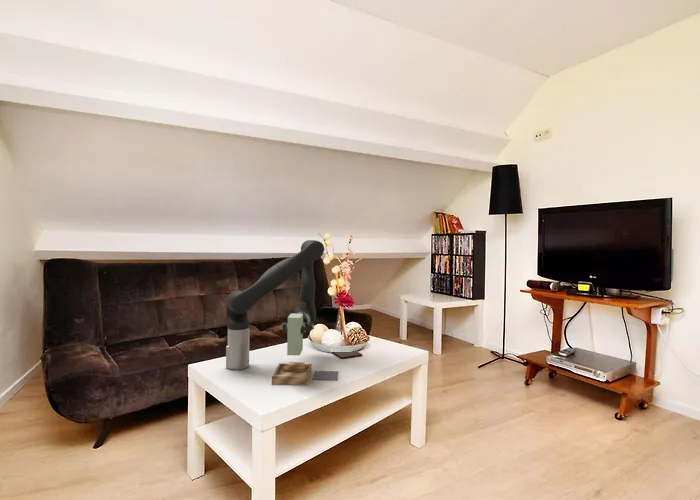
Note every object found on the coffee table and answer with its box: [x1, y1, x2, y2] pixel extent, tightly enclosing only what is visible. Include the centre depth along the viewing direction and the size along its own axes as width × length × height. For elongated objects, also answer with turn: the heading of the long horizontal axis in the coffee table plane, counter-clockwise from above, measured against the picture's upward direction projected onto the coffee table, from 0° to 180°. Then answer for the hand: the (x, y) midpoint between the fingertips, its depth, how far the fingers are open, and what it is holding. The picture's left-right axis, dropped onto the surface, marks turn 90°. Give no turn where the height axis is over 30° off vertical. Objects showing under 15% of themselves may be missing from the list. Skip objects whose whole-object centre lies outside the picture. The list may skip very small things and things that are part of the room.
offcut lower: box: [283, 366, 306, 372], centre depth 161 cm, size 9×3×2 cm, turn 89°
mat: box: [312, 370, 339, 381], centre depth 159 cm, size 10×10×1 cm
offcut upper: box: [288, 361, 306, 369], centre depth 161 cm, size 6×3×2 cm, turn 89°
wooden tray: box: [271, 362, 313, 386], centre depth 157 cm, size 14×15×3 cm
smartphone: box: [331, 350, 363, 360], centre depth 195 cm, size 12×2×25 cm
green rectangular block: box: [286, 313, 304, 356], centre depth 155 cm, size 5×8×15 cm, turn 179°
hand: (294, 331), depth 152 cm, fingers closed on green rectangular block, 5 cm apart
